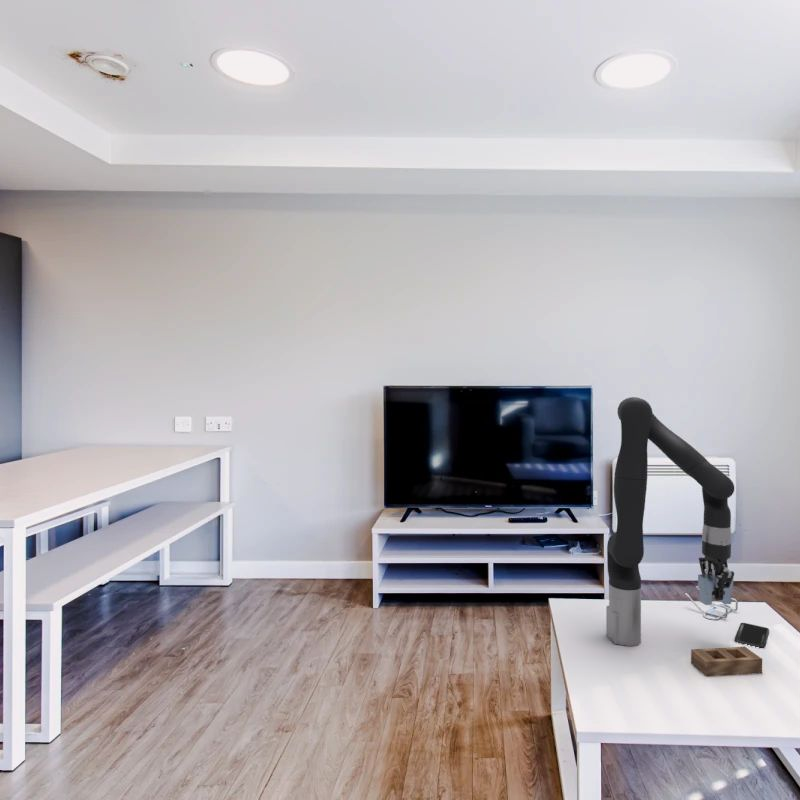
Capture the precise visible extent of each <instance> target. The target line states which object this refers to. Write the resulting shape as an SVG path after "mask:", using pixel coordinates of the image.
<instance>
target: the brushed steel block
mask: <svg viewBox="0 0 800 800" xmlns="http://www.w3.org/2000/svg"><path fill="white" fill-rule="evenodd" d="M718 576H722V575H718ZM719 583H720V580H719ZM697 586H698V588H699V590H698V593H699V594H698V601H699V602H700V603H702V604H703V605H705V606H711V605H713V604H712V602H713V600H712V599H713V595H712V591H715V579H713V575H707V574H704V575H702V574H697ZM733 591H734V578H733V579H732V582H731V584H730V587H729V588H724V594H723V600H718V601H719V602H720V603H721V604H726V605H732V600H731V598H732V593H733Z"/></svg>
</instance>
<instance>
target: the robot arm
mask: <svg viewBox="0 0 800 800" xmlns="http://www.w3.org/2000/svg"><path fill="white" fill-rule="evenodd" d="M617 417H618V419H619V420H620V427H621V428H620V429H621V432H620V433H621V435H620V437H621V438H620V439H621V440H620V441H621V442H620V448H619V452H618V455H617V459H616V463H615V464H616V465H615V470H614V479H613V497H614V504H615V510H616V511H615V512H616V519H617V520H616V530H615V532H614V533H612V534H611V535H610V537H609V538H608V541H607V543H606V544H607V546H606V552H607V553H606V555H607V563H606V564H607V574H608V605H606V614H605V616H606V617H605V618H606V620H605V621H606V622H605V623H606V625H605V627H606V631H605V633H606V637H607V638H608V639H609V640H610V642H612V643H613V644H614V645H620V646H625V647H626V646H627V647H628V646H629V647H634V646H635V647H636V646H638V645H640V644H641V641H642V578H641V574H640V567H639V564H640V563H642V560H643V558H644V556H645V555H644V553H645V550H644V549H645V547H644V527H643V526H644V518H645V517H644V514H645V509H646V507H645V506H646V497H647V485H648V466H649V465H648V442H649V441H650V442H651V443H653V445H655V446H656V447H657V448H658V449H659V450H660V451H661V452H662V453H663V454H664V455H665V456H666V457H667V458H668V459H669V460H670V461H671V462H672V463H674V464H675V465H676V466H677V467H678V468H679V469H680V470H681V471H682V472H684V473H685V474H686V475H687V476H689V477H691V478H692V479H694V480H695V482H696V483H698V484H699V485H700V486H701V492H702V501H703V523H702V524H703V526H702V531H701V532H702V534H701V536H702V537H701V553H702V555H704V557H698V562H699V567H700V571H701V572H700V573H701V575H704V574H707V575H713V579H715V591H712V596H714V599H715V600H716V601H719V600H723V594H724V588H729V587H730V584H731V582H732V579H733V580H734V577H735V576H734V575H735V572H734V571H733V570H730V569H729V567H728V566H729V565H728V560H729V559H730V558H732V556H731V554H732V529H731V528H732V527H731V526H732V525H731V524H732V513H731V508H730V507H729V504H728V503H729V502H728V500H729V498H731V497H732V496H733V494H734V492H735V485H734V482H733V480H732V479H731V478H730V477H729V476H727V475H726V474H725V473H723V472H722V471H721V470H720V469H718V468H717V467H715V465H713V464H712V463H710V461H709V460H708V459H707V458H705V456H703V455H702V454H701V453H700V452H699V451H698V450H697V449H696V448H694V447H693V446H692V445H691V444H689V443H688V442H687V441H686V440H685V439H683V438H682V437H681V436H679V435H677V434H676V433H675V432H673V431H672V430H671V429H669V428H668V427H667V426H666V425H665V424H664V423H663V422H661V420H659V419H658V417H657V416H656V415H655V414H654V413H653V408H652V406H651V405H650V404H649V402H648V401H647V400H646V399H643V398H640V397H635V396H634V397H633V396H631V397H627V398H625V399H623V400H621V402H620V403H619V405H618V406H617ZM718 575H722V576H718ZM719 580H720V583H719Z"/></svg>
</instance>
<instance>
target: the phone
mask: <svg viewBox="0 0 800 800" xmlns="http://www.w3.org/2000/svg"><path fill="white" fill-rule="evenodd" d="M769 634H770V629H769V628H767V627H764V626H761V625H760V626H759V625H756V624H751V623H747V622H741V623H740V624H739V627H738V629H737V630H736V634H735V637H734V642H735V643H737V642H738V643H737V644H740V643H741V645H744V644H747V645H746V646H748V645H750V646H749V647H752V646H755V647H754V648H756V647H759V648H758V649H760V648H764V647H765V648H766V644H767V642H768V641H767V640H768V638H767V637H769ZM765 648H764V649H765Z"/></svg>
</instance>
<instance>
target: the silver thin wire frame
mask: <svg viewBox="0 0 800 800" xmlns="http://www.w3.org/2000/svg"><path fill="white" fill-rule="evenodd" d="M695 588H696V590H698V591H699V588H698V585H696V587H695ZM685 597H686V598H687V599H689V600H690V601H691V602H692V603H693V604H694V605H695V606H696V607H697V608H698V610H700V612H701V613H703V614H702V617H704V618H705V619H707V620H711V621H712V620H713V621H718V620H719V619H727V618H728V615H729V613H731V612H732V611H735V612H736V611H738V606H739V605H738V603H739V602H738V600H737V599H736V598H733V597H731V601H733V602H735V608H733V607H732V605H730V604H723V603H718V604H717V603H714V602H713V601H712V605H713V606H712V607H710V608H709V609H708V610H707V611H705V610H703V609H702V608H701V607H700V606H699V605H698V604H697V602H695V601H694V600H693V599H692V597H691V596H690V595H689V594H688V593H685ZM706 615H711V616H713V617H714V618H713V617H708V616H706Z"/></svg>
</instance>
